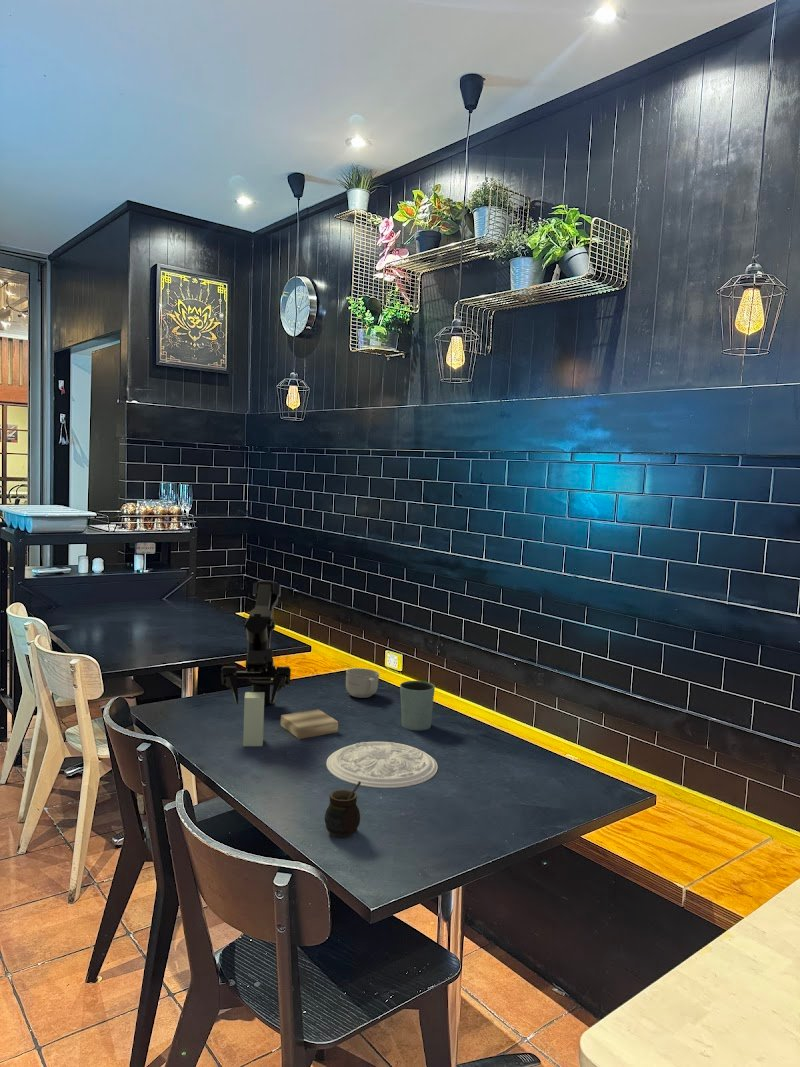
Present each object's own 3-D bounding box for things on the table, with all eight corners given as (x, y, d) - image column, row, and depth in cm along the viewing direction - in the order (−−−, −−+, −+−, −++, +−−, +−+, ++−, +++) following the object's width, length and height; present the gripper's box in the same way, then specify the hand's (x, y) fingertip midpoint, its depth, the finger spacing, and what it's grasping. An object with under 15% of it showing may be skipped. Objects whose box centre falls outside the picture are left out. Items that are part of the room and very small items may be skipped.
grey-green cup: (433, 732, 216) (435, 691, 215) (397, 730, 216) (399, 689, 215) (432, 720, 226) (434, 681, 225) (398, 718, 226) (400, 679, 225)
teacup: (341, 691, 251) (342, 667, 250) (373, 689, 254) (374, 666, 254) (351, 704, 238) (352, 679, 237) (385, 702, 241) (386, 678, 240)
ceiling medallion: (427, 796, 175) (428, 783, 175) (311, 781, 180) (312, 768, 180) (444, 752, 202) (445, 741, 202) (343, 740, 208) (344, 729, 207)
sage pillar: (244, 739, 204) (245, 692, 203) (263, 739, 205) (264, 692, 203) (243, 746, 199) (244, 698, 198) (262, 746, 200) (263, 698, 199)
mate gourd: (316, 831, 155) (318, 784, 154) (344, 820, 161) (346, 774, 160) (339, 844, 150) (341, 796, 149) (367, 832, 155) (369, 785, 155)
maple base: (280, 725, 216) (280, 715, 216) (318, 719, 222) (318, 709, 222) (299, 739, 206) (299, 728, 206) (337, 732, 213) (338, 721, 212)
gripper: (222, 637, 206) (217, 688, 196) (291, 638, 209) (290, 688, 199) (224, 658, 214) (219, 708, 204) (290, 659, 217) (289, 708, 207)
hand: (254, 703), depth 204 cm, fingers open, 9 cm apart
